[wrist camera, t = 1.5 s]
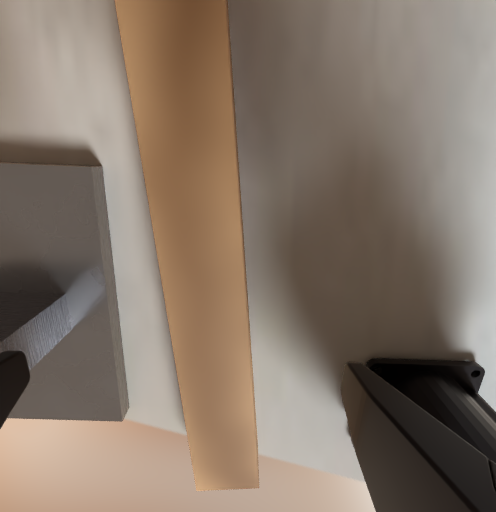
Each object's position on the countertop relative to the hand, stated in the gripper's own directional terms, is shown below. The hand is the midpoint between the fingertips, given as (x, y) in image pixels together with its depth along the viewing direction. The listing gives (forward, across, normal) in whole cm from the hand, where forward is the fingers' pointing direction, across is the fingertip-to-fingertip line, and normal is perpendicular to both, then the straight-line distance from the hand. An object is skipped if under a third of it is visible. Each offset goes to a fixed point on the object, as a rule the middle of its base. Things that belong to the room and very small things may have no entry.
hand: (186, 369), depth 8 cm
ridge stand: (+7, +10, +2) cm, 12 cm away
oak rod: (+8, 0, 0) cm, 8 cm away
